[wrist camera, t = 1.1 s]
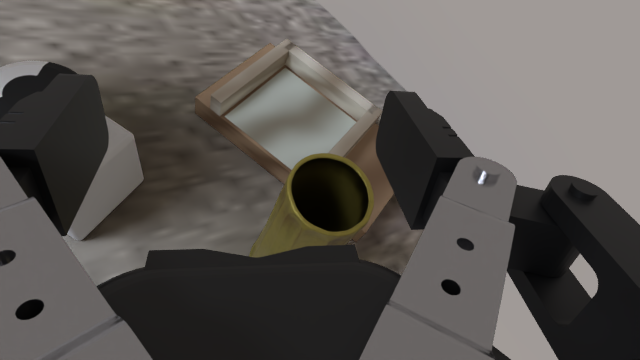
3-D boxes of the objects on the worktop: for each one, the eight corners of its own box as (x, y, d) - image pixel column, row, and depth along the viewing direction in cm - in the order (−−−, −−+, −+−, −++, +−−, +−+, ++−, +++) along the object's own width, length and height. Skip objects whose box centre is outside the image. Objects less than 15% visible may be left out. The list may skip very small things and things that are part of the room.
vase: (274, 313, 32) (322, 265, 20) (234, 252, 34) (256, 172, 22) (330, 273, 35) (402, 209, 23) (291, 217, 37) (339, 130, 24)
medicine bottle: (146, 179, 34) (126, 90, 24) (80, 243, 31) (24, 169, 21) (79, 134, 35) (32, 27, 25) (6, 192, 31) (-86, 94, 21)
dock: (195, 113, 39) (195, 82, 35) (266, 59, 45) (273, 28, 41) (355, 242, 37) (374, 224, 33) (408, 169, 43) (429, 147, 39)
